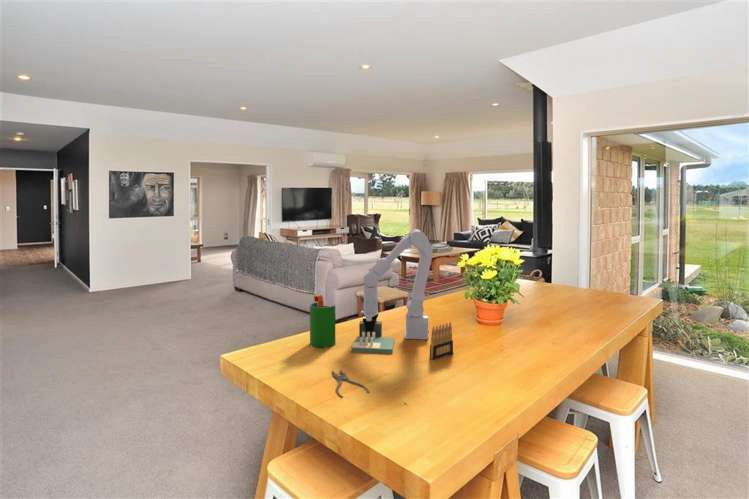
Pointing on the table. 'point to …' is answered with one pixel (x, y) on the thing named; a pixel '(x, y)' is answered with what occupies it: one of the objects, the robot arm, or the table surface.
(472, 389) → the table surface
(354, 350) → the header board
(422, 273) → the robot arm
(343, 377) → the pliers
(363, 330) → the block
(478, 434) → the table surface
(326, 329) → the green and brown cylinder
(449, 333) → the ammunition clip
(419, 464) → the table surface
